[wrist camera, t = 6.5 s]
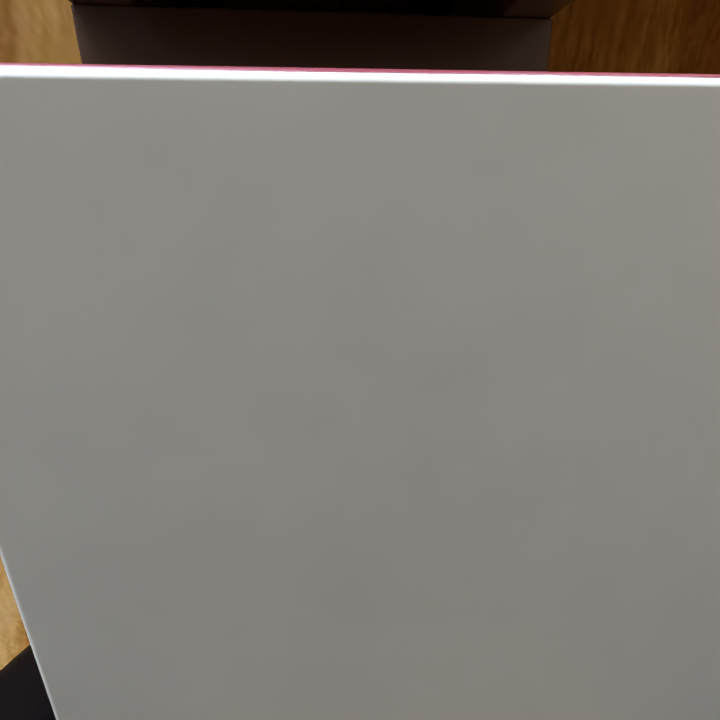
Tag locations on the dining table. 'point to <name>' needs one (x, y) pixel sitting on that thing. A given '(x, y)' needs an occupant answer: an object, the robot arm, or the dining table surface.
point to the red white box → (362, 391)
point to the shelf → (317, 36)
